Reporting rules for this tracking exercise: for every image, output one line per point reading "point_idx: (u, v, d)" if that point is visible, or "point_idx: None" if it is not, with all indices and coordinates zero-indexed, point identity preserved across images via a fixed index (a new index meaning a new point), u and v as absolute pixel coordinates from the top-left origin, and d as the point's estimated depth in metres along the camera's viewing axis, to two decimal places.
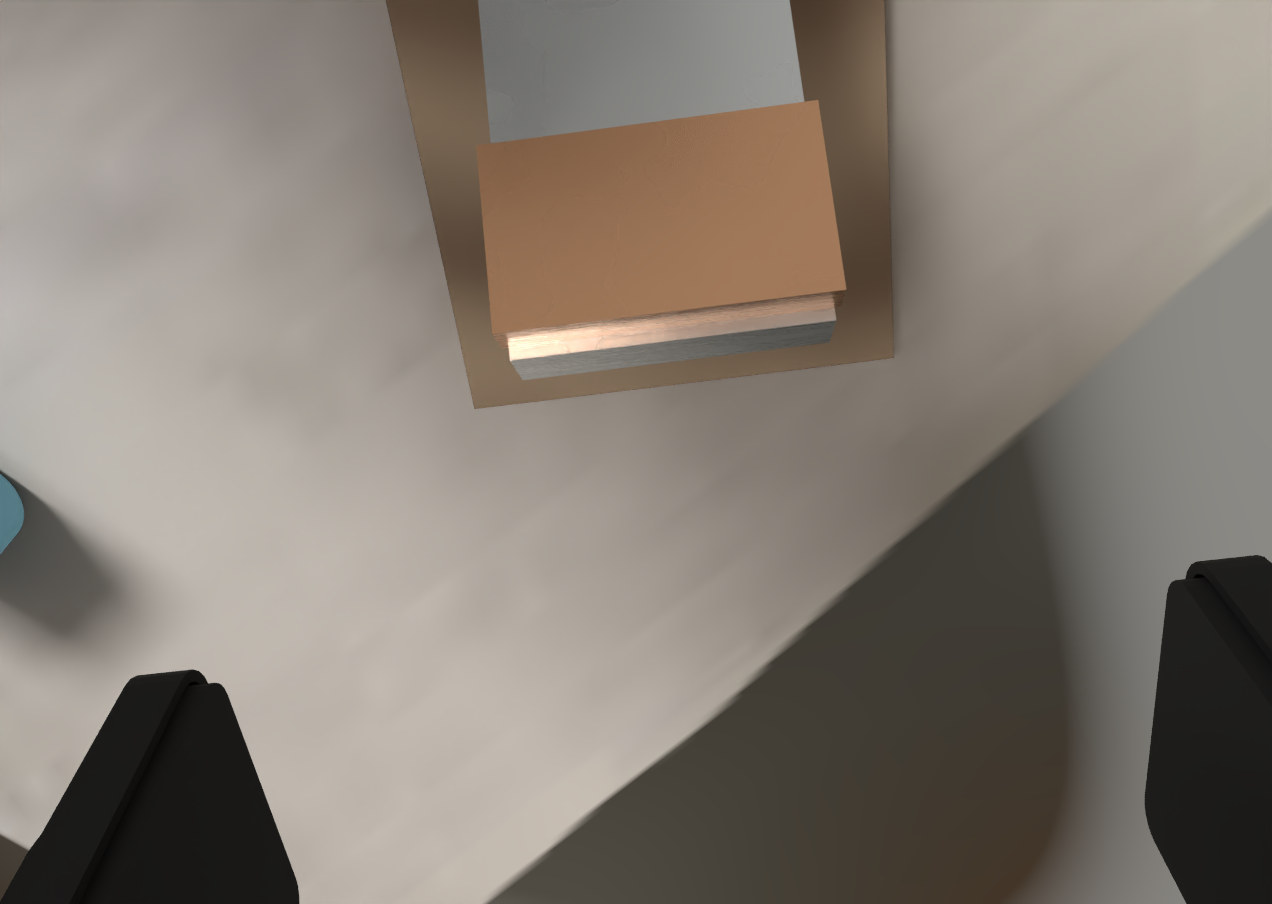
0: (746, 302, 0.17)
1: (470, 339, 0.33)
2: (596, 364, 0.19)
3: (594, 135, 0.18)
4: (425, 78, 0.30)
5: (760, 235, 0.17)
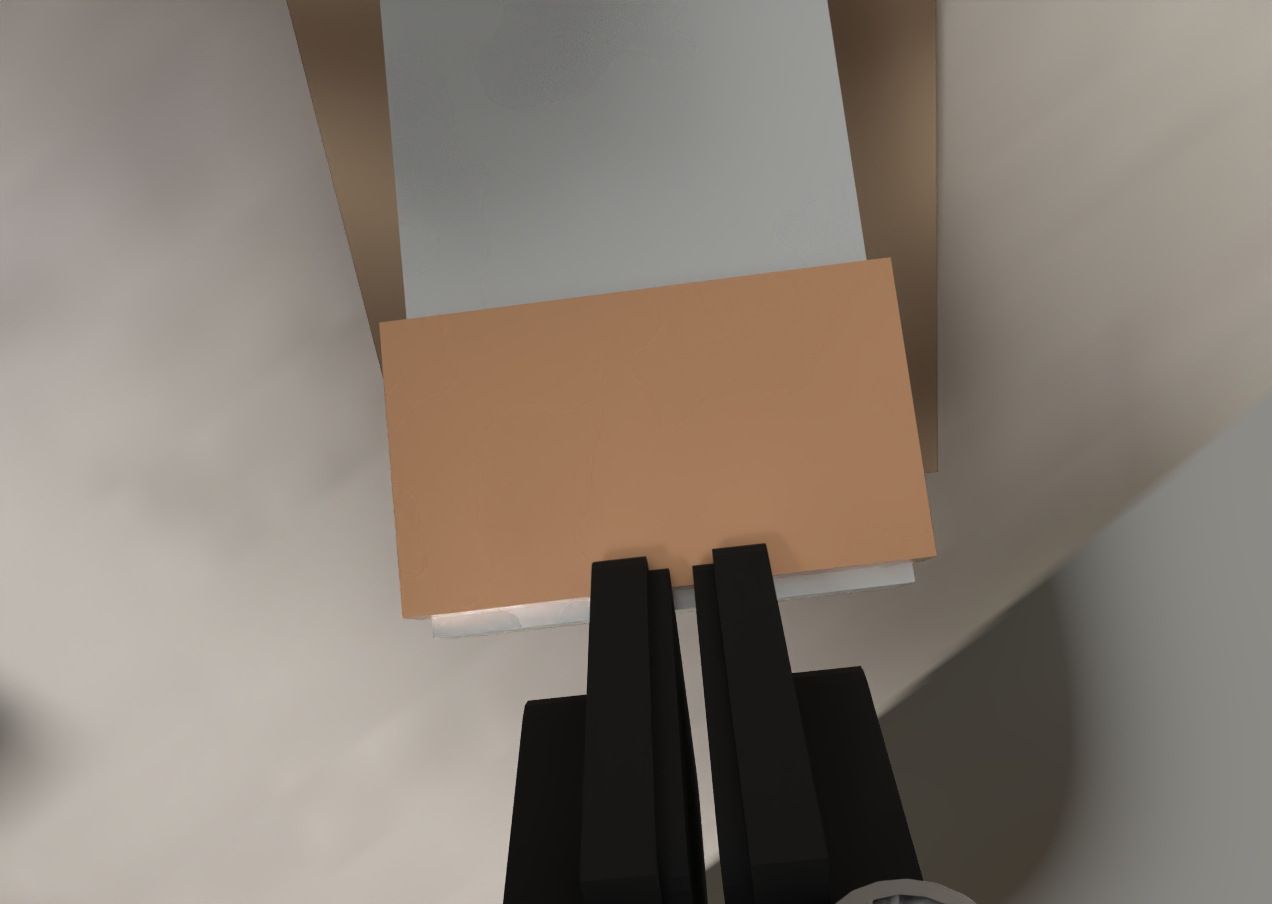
0: (785, 573, 0.11)
1: None
2: (562, 625, 0.13)
3: (556, 310, 0.12)
4: (351, 137, 0.23)
5: (806, 468, 0.12)
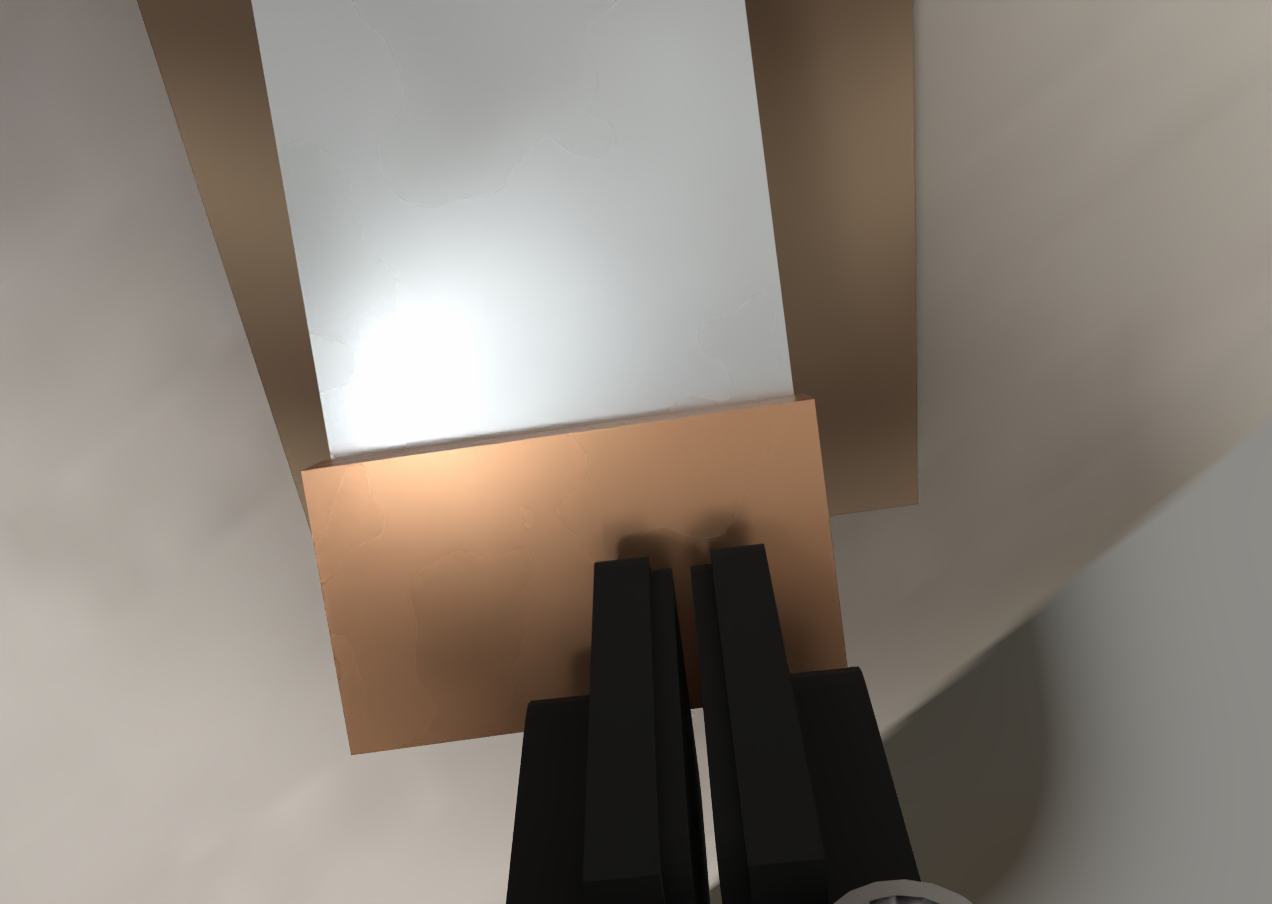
0: None
1: None
2: None
3: (481, 456, 0.12)
4: (215, 130, 0.19)
5: None
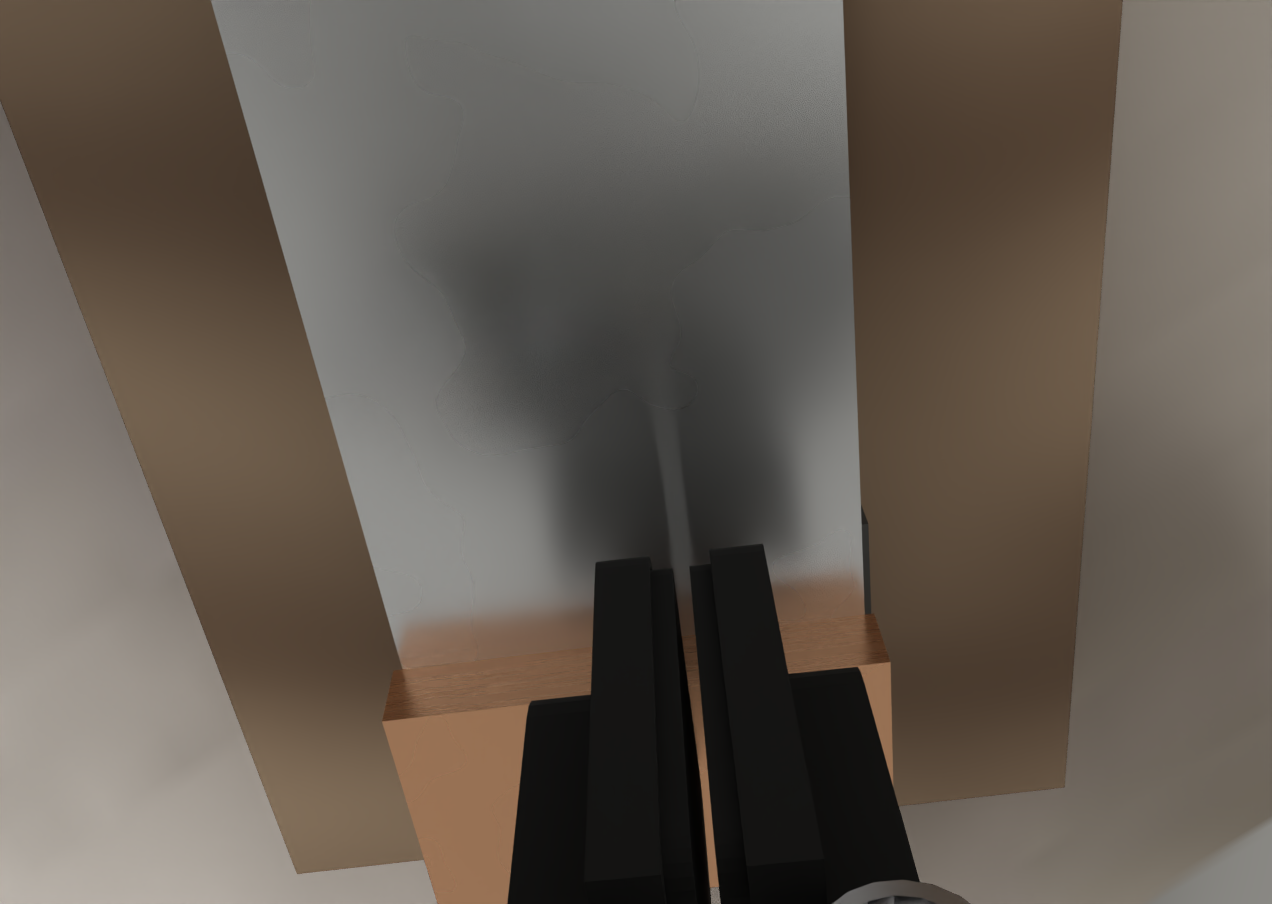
0: None
1: (279, 772, 0.18)
2: None
3: None
4: (138, 333, 0.14)
5: None
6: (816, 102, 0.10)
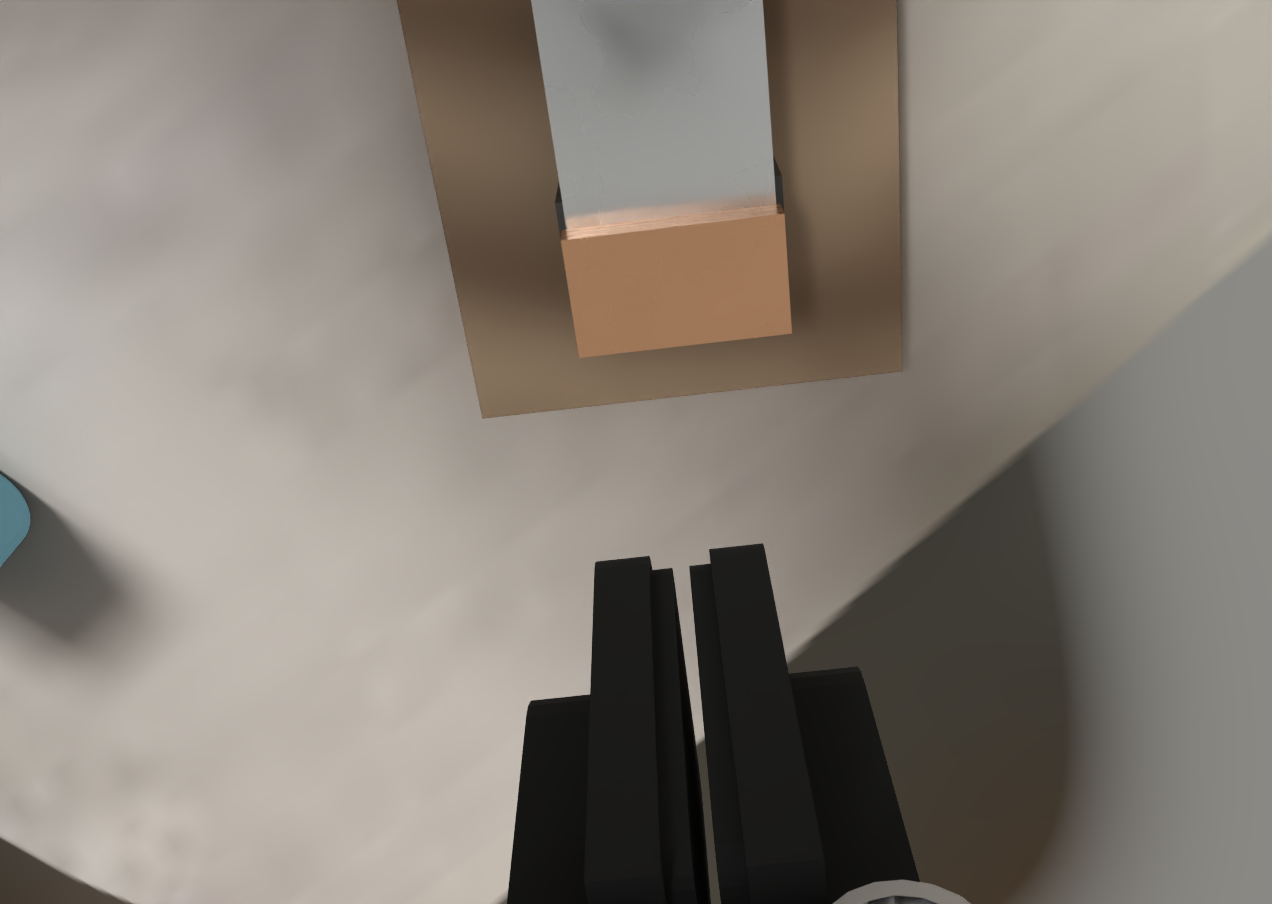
0: None
1: (479, 349, 0.33)
2: None
3: (639, 235, 0.28)
4: (437, 88, 0.30)
5: (742, 300, 0.28)
6: None
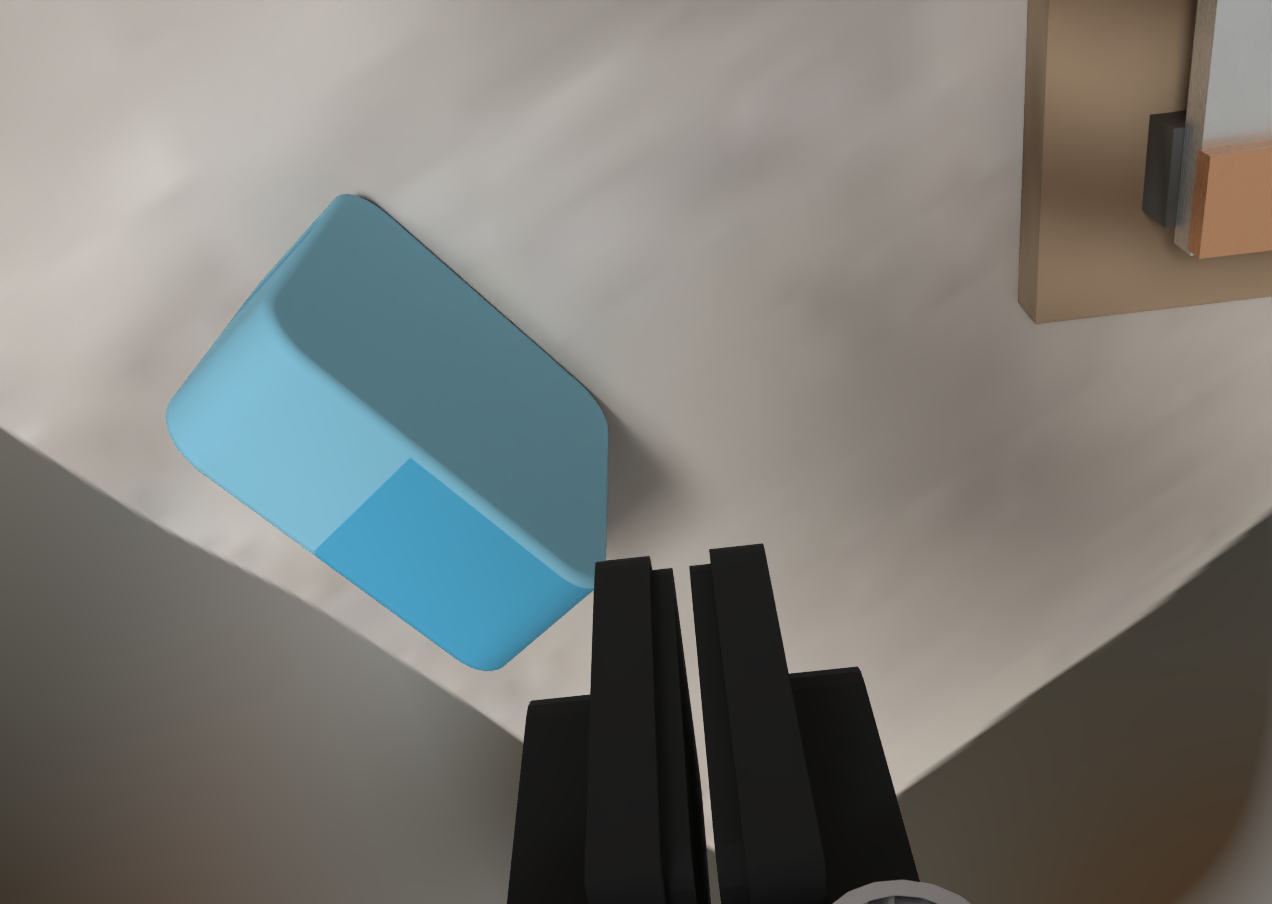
0: None
1: (1047, 261, 0.38)
2: None
3: None
4: (1067, 32, 0.35)
5: None
6: None
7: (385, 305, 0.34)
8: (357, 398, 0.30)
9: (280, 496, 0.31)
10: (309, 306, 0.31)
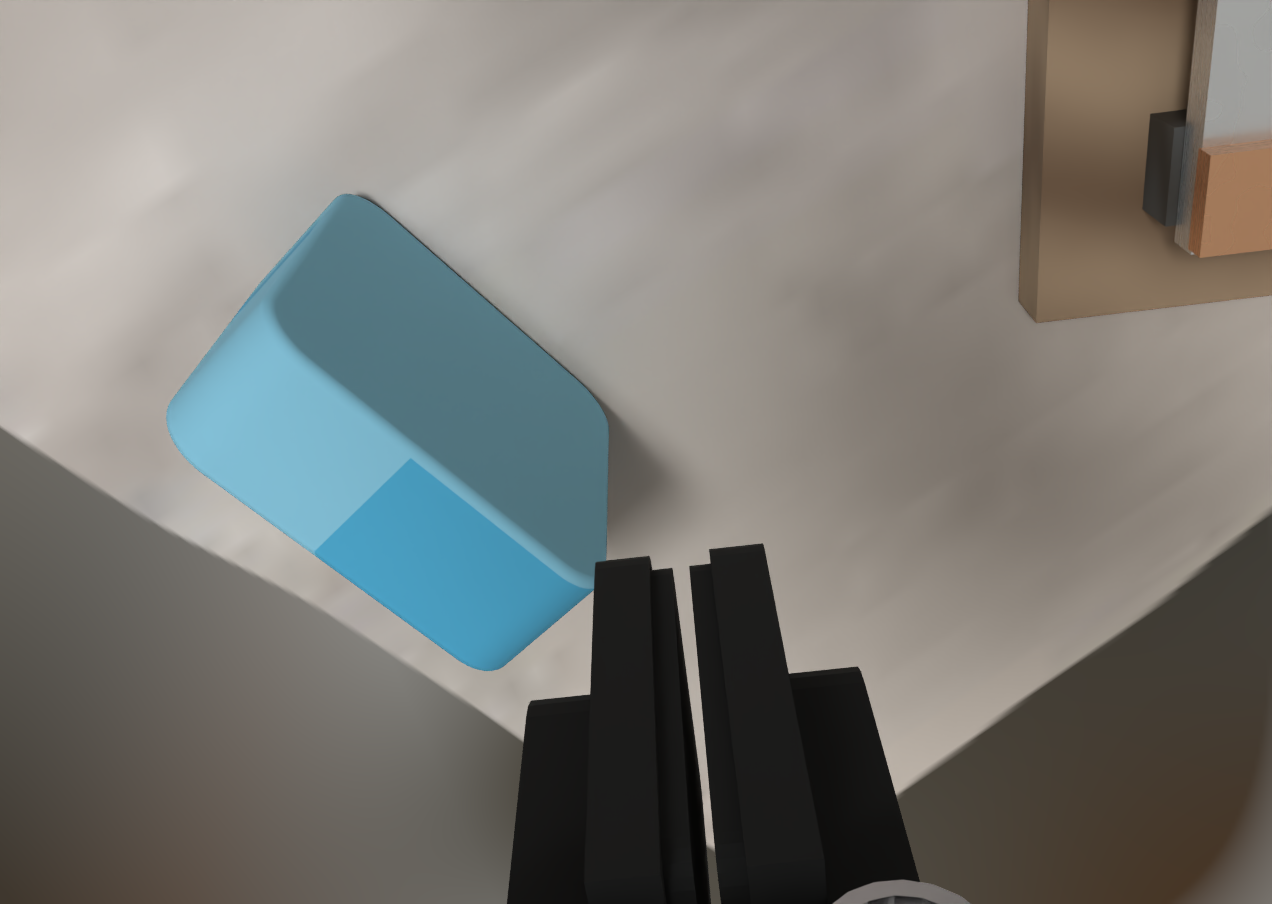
0: None
1: (1048, 260, 0.38)
2: None
3: None
4: (1067, 31, 0.35)
5: None
6: None
7: (385, 305, 0.34)
8: (357, 399, 0.30)
9: (280, 496, 0.31)
10: (309, 306, 0.31)
